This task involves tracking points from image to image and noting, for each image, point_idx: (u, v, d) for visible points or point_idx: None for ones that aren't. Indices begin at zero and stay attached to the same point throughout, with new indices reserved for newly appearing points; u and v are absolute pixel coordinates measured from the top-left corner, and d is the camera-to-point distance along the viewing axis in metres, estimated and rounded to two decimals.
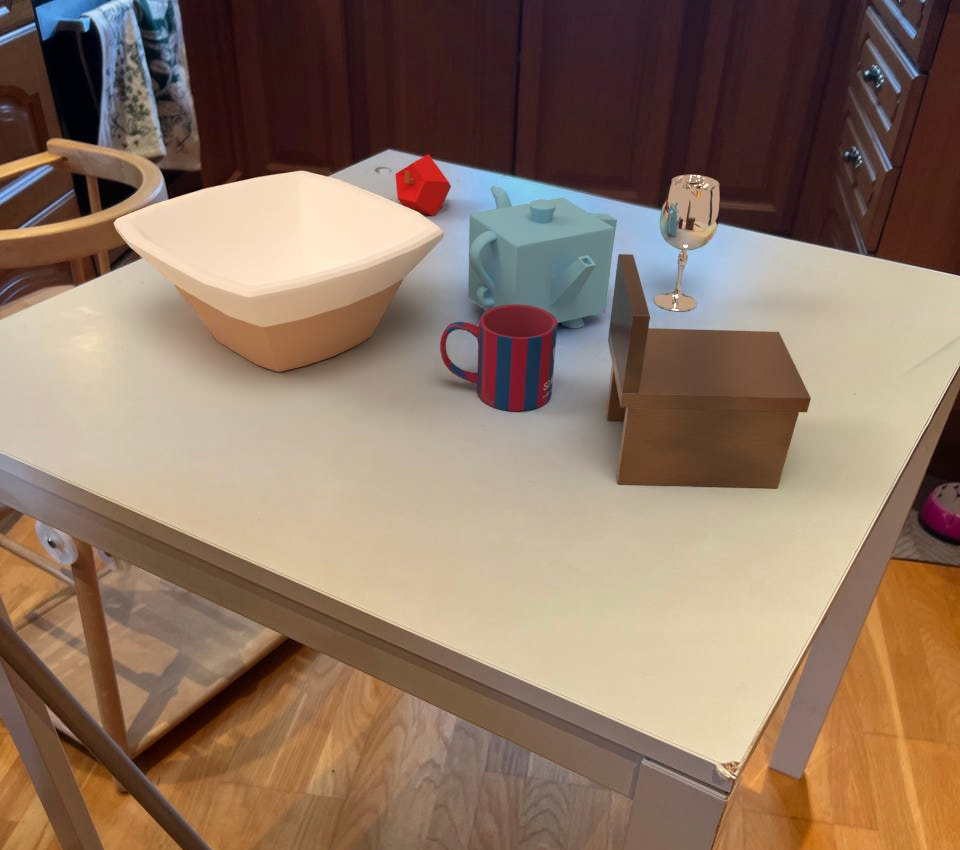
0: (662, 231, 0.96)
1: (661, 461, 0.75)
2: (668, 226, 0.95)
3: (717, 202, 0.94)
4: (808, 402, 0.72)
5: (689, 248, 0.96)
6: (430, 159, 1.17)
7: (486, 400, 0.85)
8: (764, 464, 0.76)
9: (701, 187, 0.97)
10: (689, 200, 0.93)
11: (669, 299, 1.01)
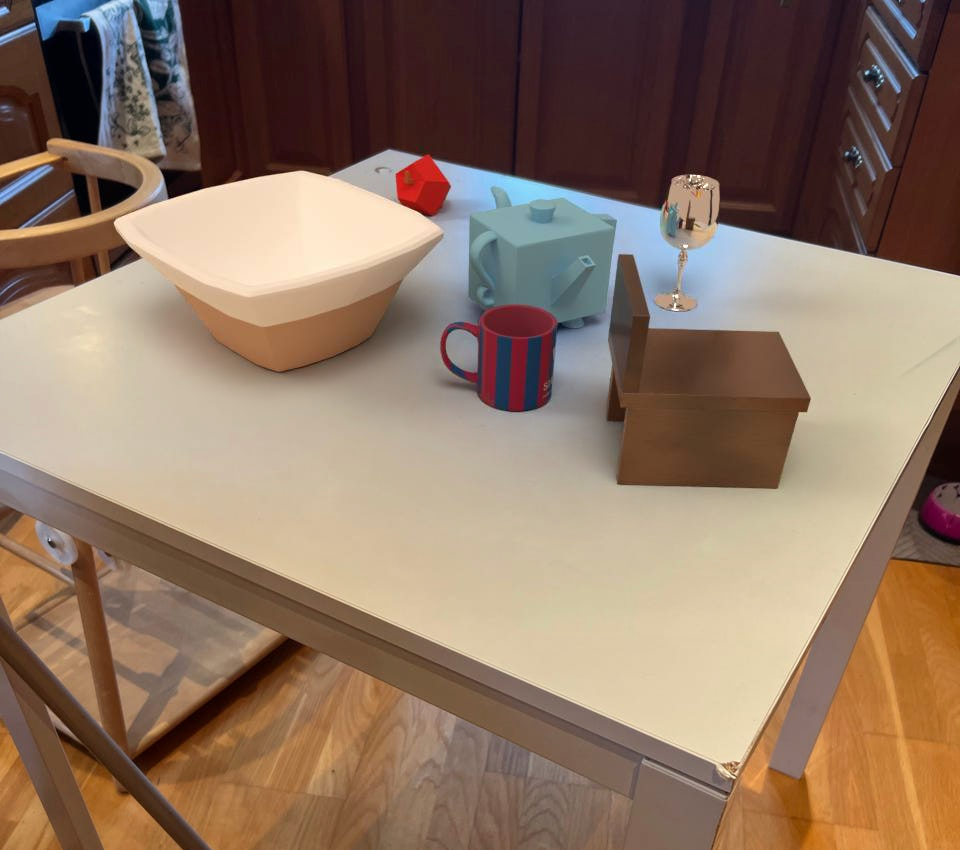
0: (662, 231, 0.96)
1: (661, 461, 0.75)
2: (668, 226, 0.95)
3: (717, 202, 0.94)
4: (808, 402, 0.72)
5: (689, 248, 0.96)
6: (430, 159, 1.17)
7: (486, 400, 0.85)
8: (764, 464, 0.76)
9: (701, 187, 0.97)
10: (689, 200, 0.93)
11: (669, 299, 1.01)
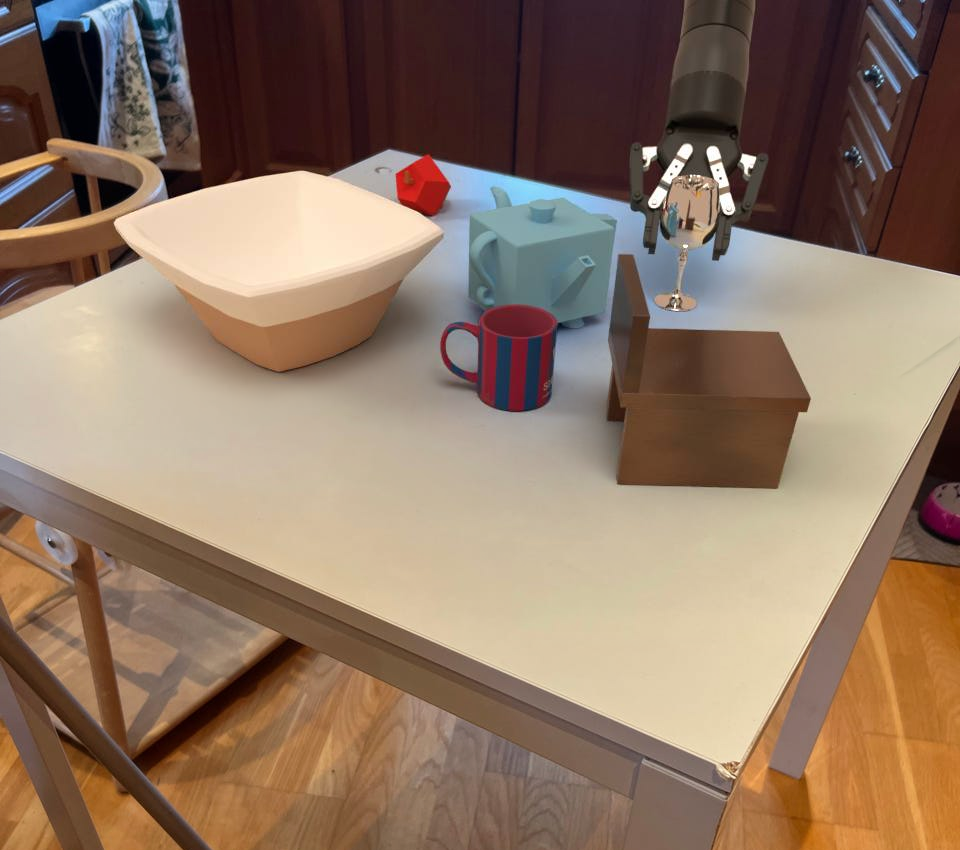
0: (662, 231, 0.96)
1: (661, 461, 0.75)
2: (668, 226, 0.95)
3: (717, 202, 0.94)
4: (808, 402, 0.72)
5: (689, 248, 0.96)
6: (430, 159, 1.17)
7: (486, 400, 0.85)
8: (764, 464, 0.76)
9: (700, 187, 0.97)
10: (689, 200, 0.93)
11: (669, 299, 1.01)
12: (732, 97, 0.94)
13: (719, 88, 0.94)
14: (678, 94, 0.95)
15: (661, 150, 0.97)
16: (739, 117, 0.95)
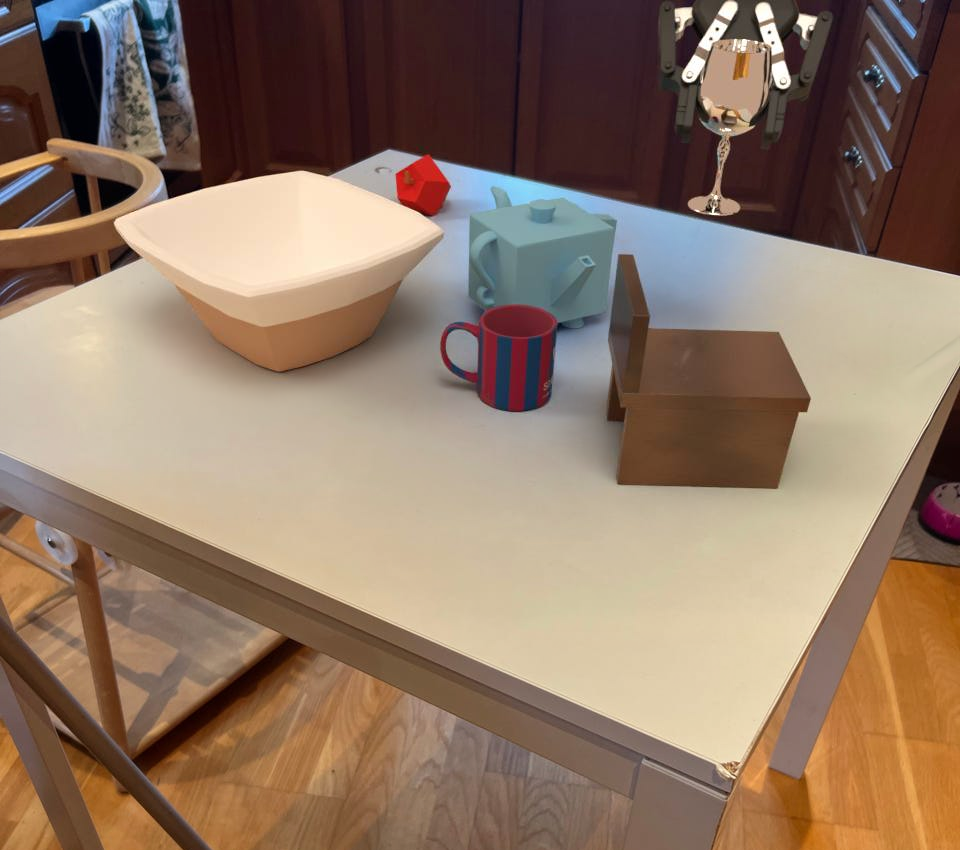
0: (699, 111, 0.77)
1: (661, 461, 0.75)
2: (707, 103, 0.76)
3: (769, 70, 0.75)
4: (808, 402, 0.72)
5: (733, 132, 0.77)
6: (430, 159, 1.17)
7: (486, 400, 0.85)
8: (764, 464, 0.76)
9: None
10: (734, 66, 0.74)
11: (707, 201, 0.82)
12: None
13: None
14: None
15: (698, 10, 0.78)
16: None
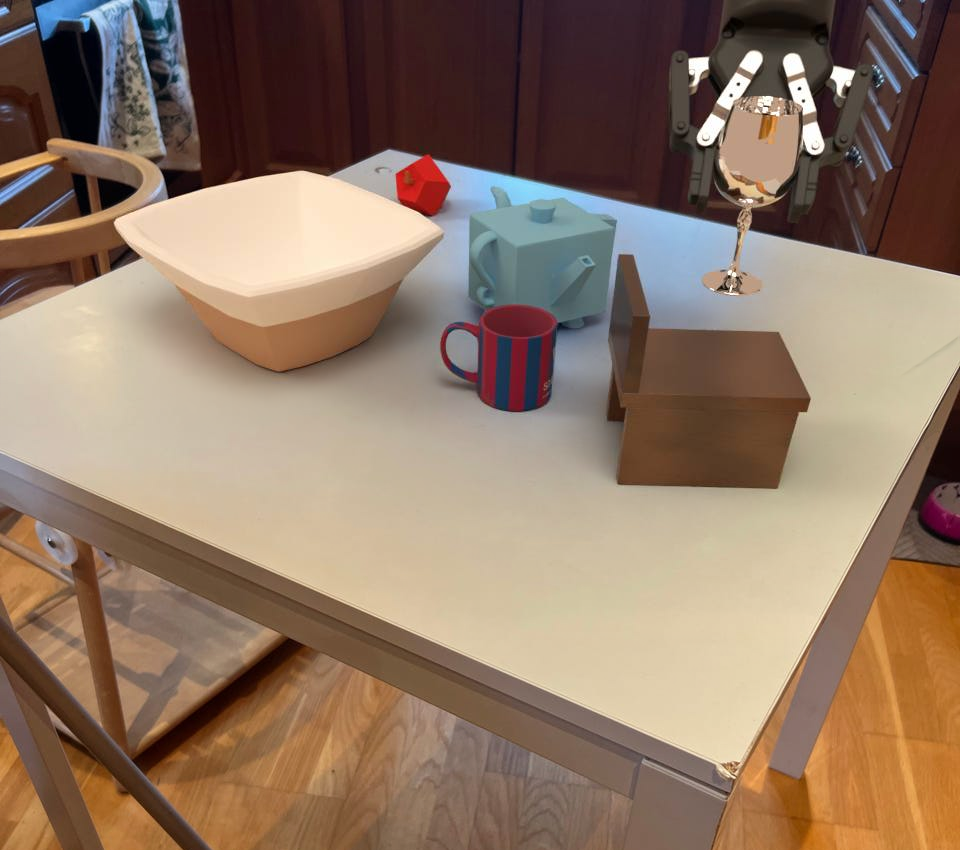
0: (717, 179, 0.66)
1: (661, 461, 0.75)
2: (726, 170, 0.65)
3: (800, 134, 0.64)
4: (808, 402, 0.72)
5: (756, 204, 0.66)
6: (430, 159, 1.17)
7: (486, 400, 0.85)
8: (764, 464, 0.76)
9: None
10: (759, 131, 0.63)
11: (724, 278, 0.71)
12: None
13: None
14: None
15: (716, 61, 0.67)
16: (831, 11, 0.65)
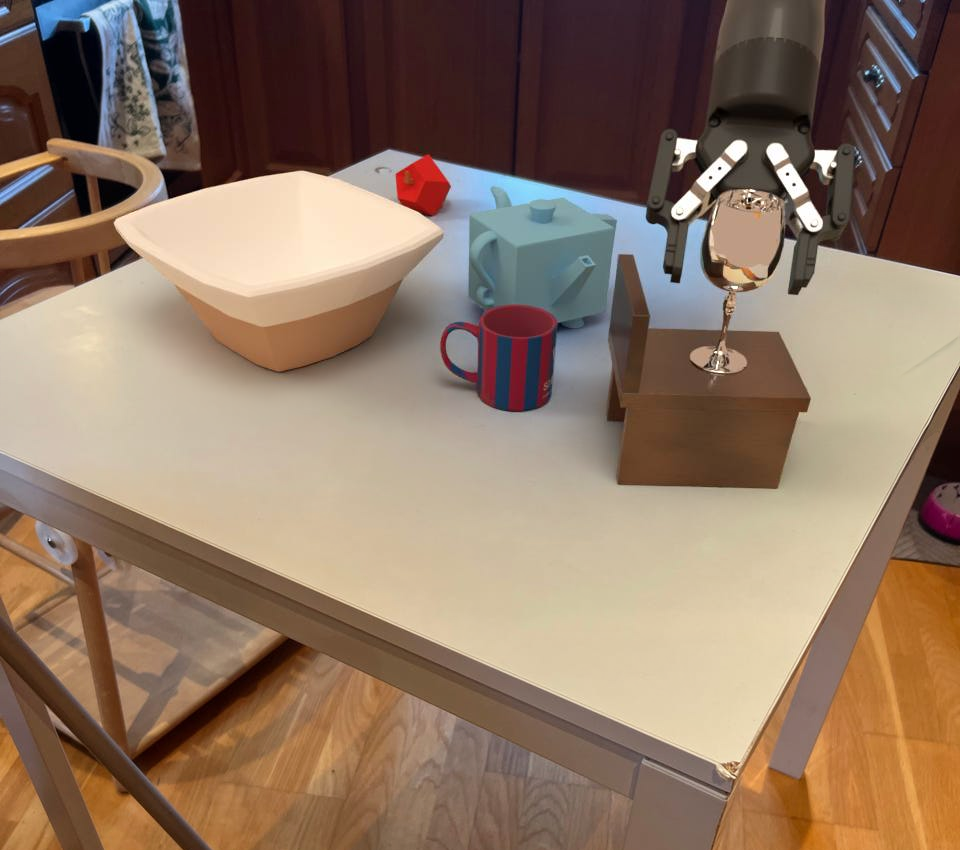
0: (703, 267, 0.70)
1: (661, 461, 0.75)
2: (712, 260, 0.69)
3: (782, 228, 0.67)
4: (808, 402, 0.72)
5: (741, 290, 0.70)
6: (430, 159, 1.17)
7: (486, 400, 0.85)
8: (764, 464, 0.76)
9: (757, 206, 0.70)
10: (743, 225, 0.66)
11: (710, 356, 0.75)
12: (803, 74, 0.67)
13: (786, 62, 0.67)
14: (727, 71, 0.68)
15: (702, 149, 0.70)
16: (812, 103, 0.68)
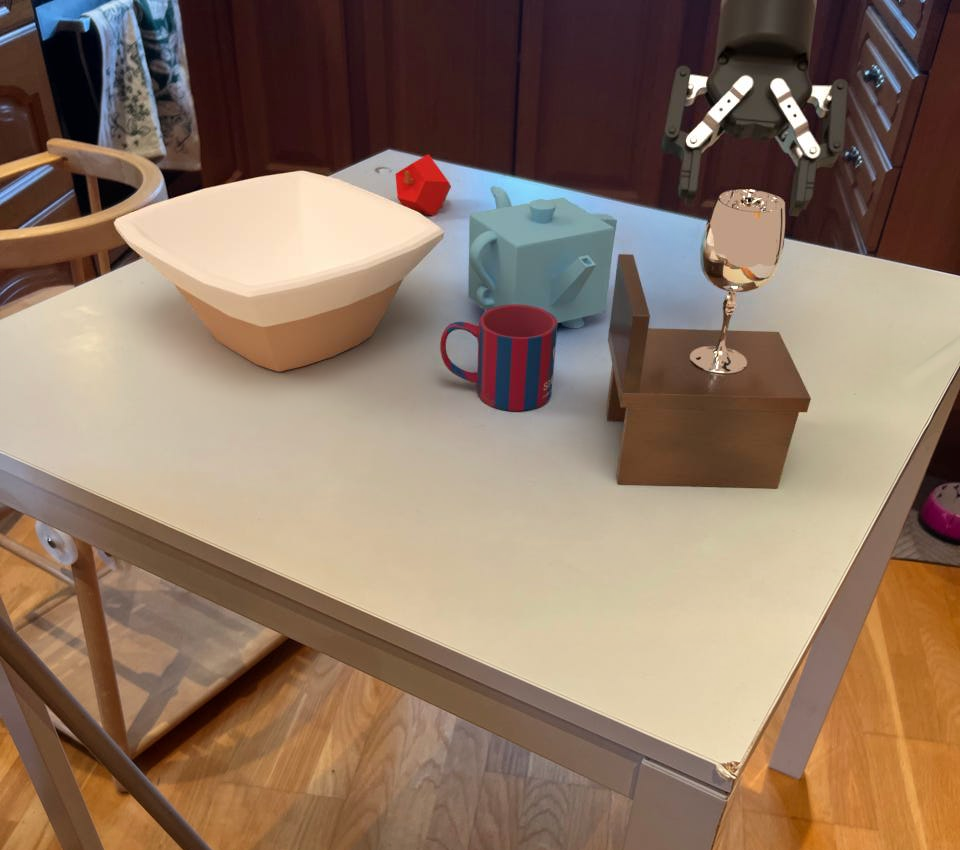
0: (703, 267, 0.70)
1: (661, 461, 0.75)
2: (712, 260, 0.69)
3: (782, 228, 0.67)
4: (808, 402, 0.72)
5: (741, 290, 0.70)
6: (430, 159, 1.17)
7: (486, 400, 0.85)
8: (764, 464, 0.76)
9: (756, 206, 0.70)
10: (743, 225, 0.66)
11: (711, 356, 0.75)
12: (802, 16, 0.76)
13: (787, 4, 0.75)
14: (734, 13, 0.77)
15: (713, 84, 0.78)
16: (810, 42, 0.77)
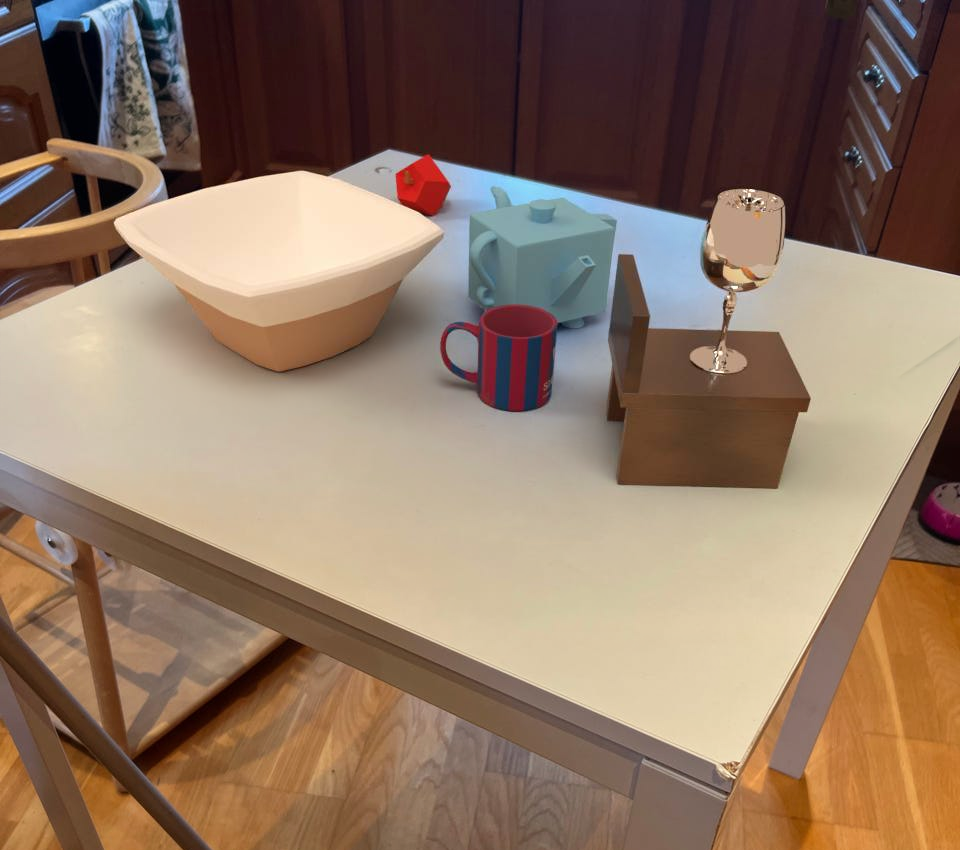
0: (703, 267, 0.70)
1: (661, 461, 0.75)
2: (712, 260, 0.69)
3: (782, 228, 0.67)
4: (808, 402, 0.72)
5: (741, 290, 0.70)
6: (430, 159, 1.17)
7: (486, 400, 0.85)
8: (764, 464, 0.76)
9: (756, 206, 0.70)
10: (743, 225, 0.66)
11: (711, 356, 0.75)
12: None
13: None
14: None
15: None
16: None
